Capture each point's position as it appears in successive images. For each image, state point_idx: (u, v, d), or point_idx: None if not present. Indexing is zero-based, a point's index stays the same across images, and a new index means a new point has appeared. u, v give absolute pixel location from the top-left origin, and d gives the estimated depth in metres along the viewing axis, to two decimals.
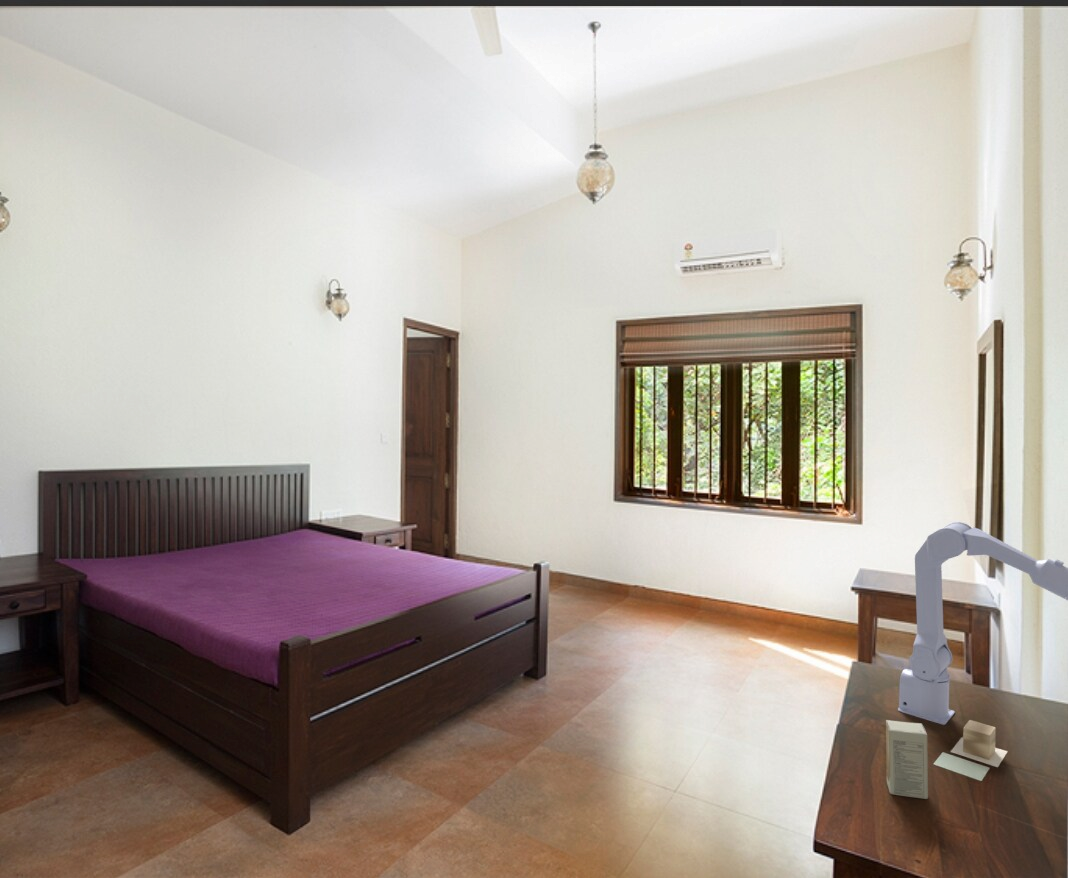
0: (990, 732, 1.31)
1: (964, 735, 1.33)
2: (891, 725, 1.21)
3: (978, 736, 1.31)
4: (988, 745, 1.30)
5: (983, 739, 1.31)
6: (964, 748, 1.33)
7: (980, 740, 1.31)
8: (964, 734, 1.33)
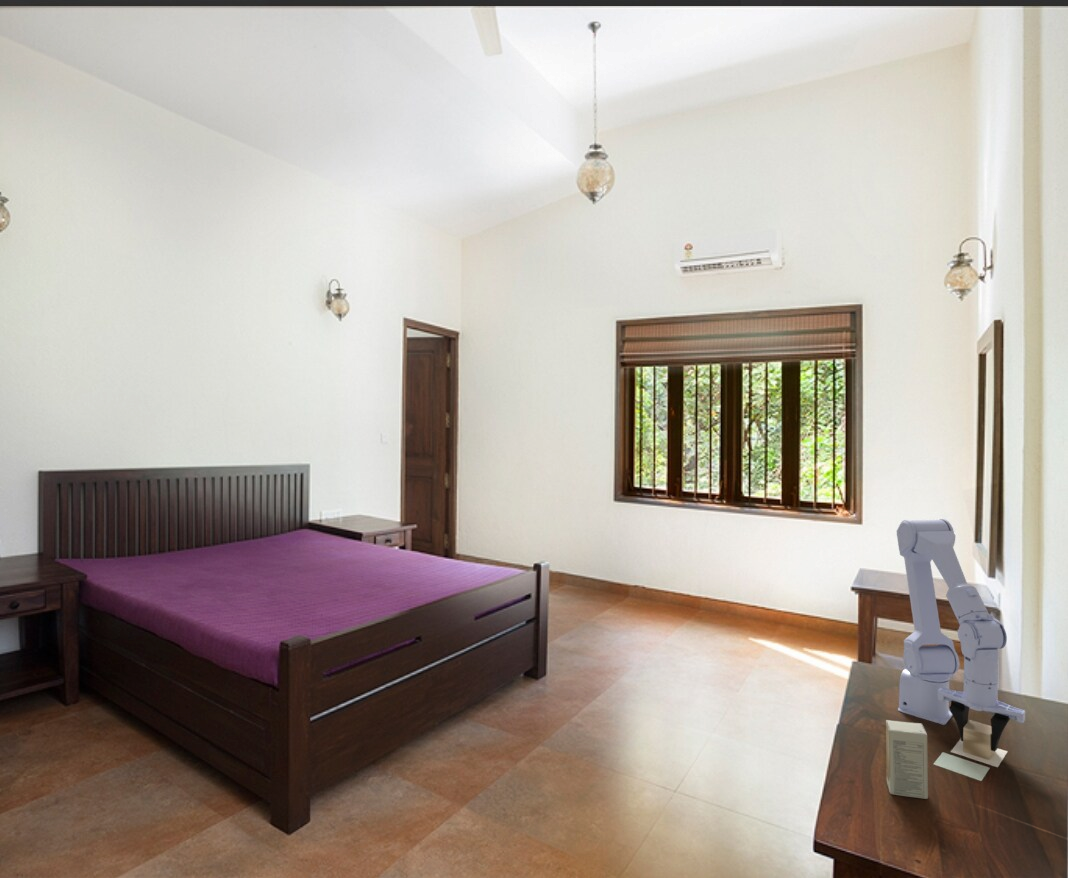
0: (990, 732, 1.31)
1: (964, 735, 1.33)
2: (891, 725, 1.21)
3: (978, 736, 1.31)
4: (988, 745, 1.30)
5: (983, 739, 1.31)
6: (964, 748, 1.33)
7: (980, 740, 1.31)
8: (964, 734, 1.33)
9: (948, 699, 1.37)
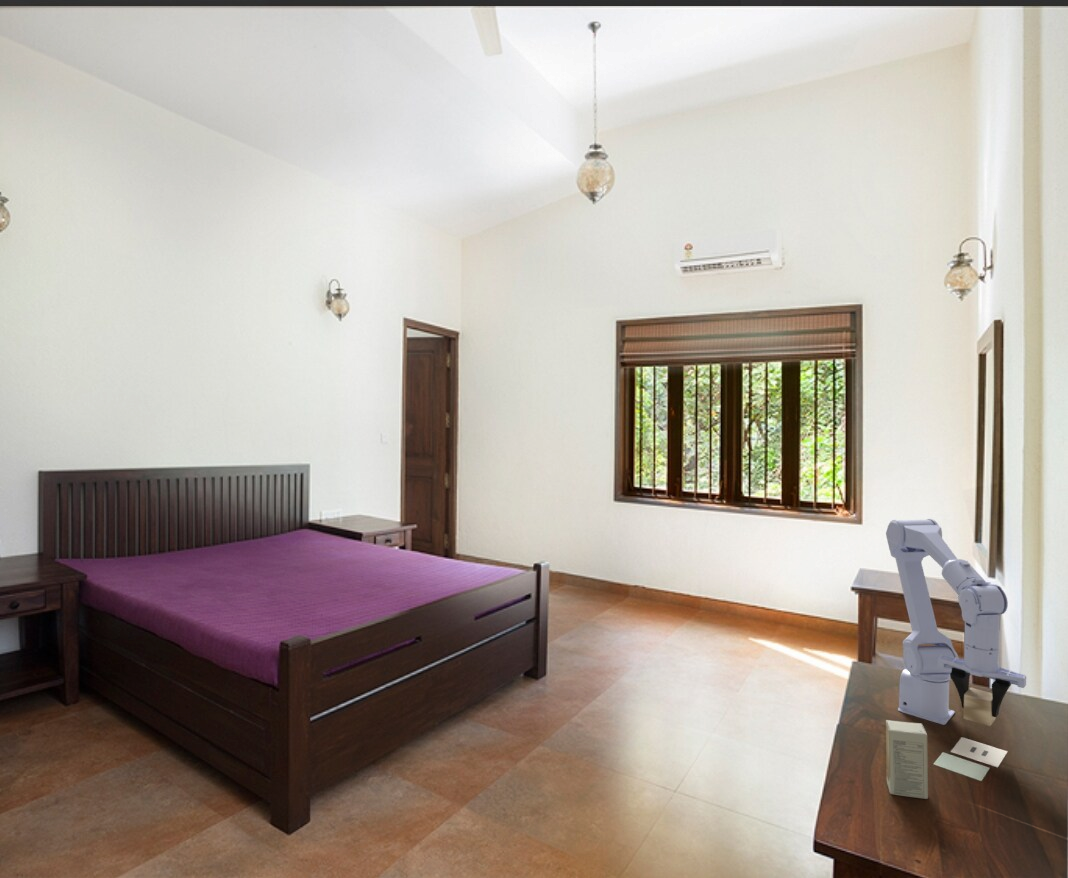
0: (991, 698, 1.31)
1: (965, 702, 1.33)
2: (891, 725, 1.21)
3: (979, 703, 1.31)
4: (989, 711, 1.30)
5: (984, 706, 1.30)
6: (965, 715, 1.33)
7: (981, 706, 1.31)
8: (965, 701, 1.33)
9: (949, 666, 1.36)
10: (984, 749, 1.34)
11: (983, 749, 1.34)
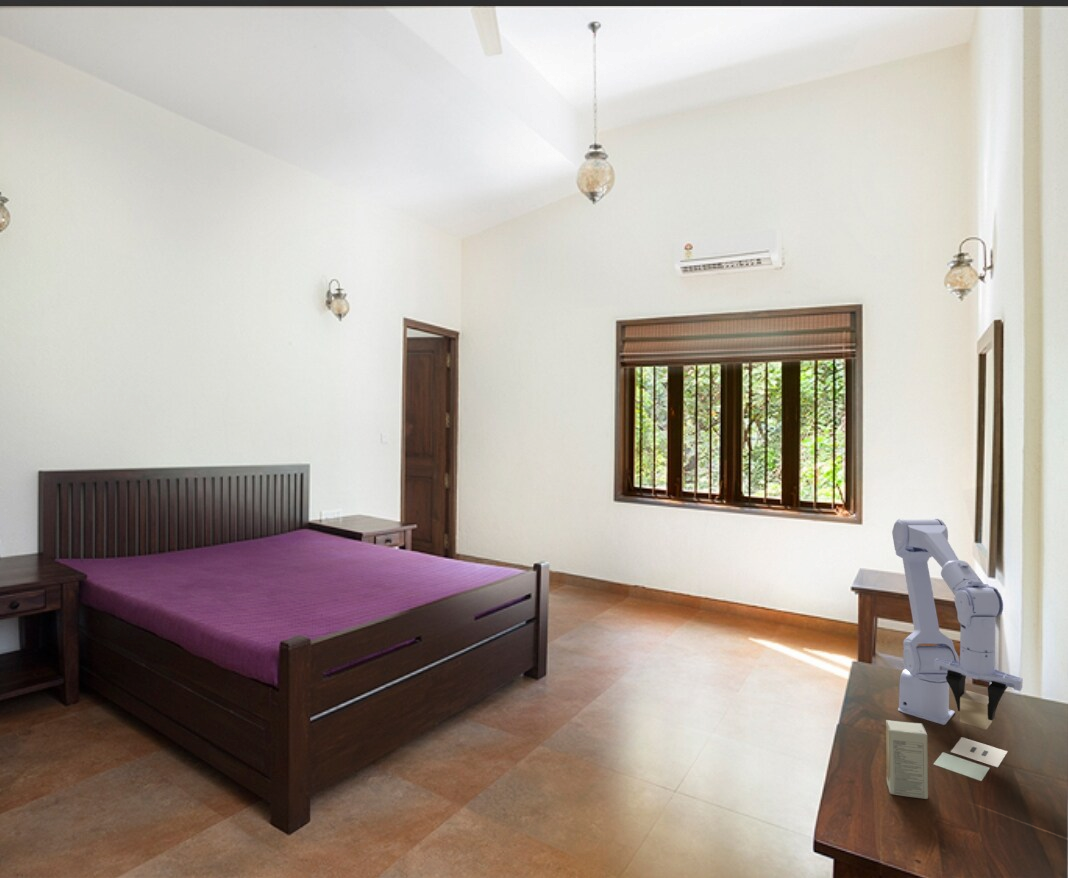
0: (987, 701, 1.29)
1: (961, 705, 1.31)
2: (891, 725, 1.21)
3: (975, 706, 1.30)
4: (985, 714, 1.28)
5: (980, 709, 1.29)
6: (961, 718, 1.32)
7: (977, 709, 1.29)
8: (961, 704, 1.31)
9: (944, 669, 1.35)
10: (984, 749, 1.34)
11: (983, 749, 1.34)
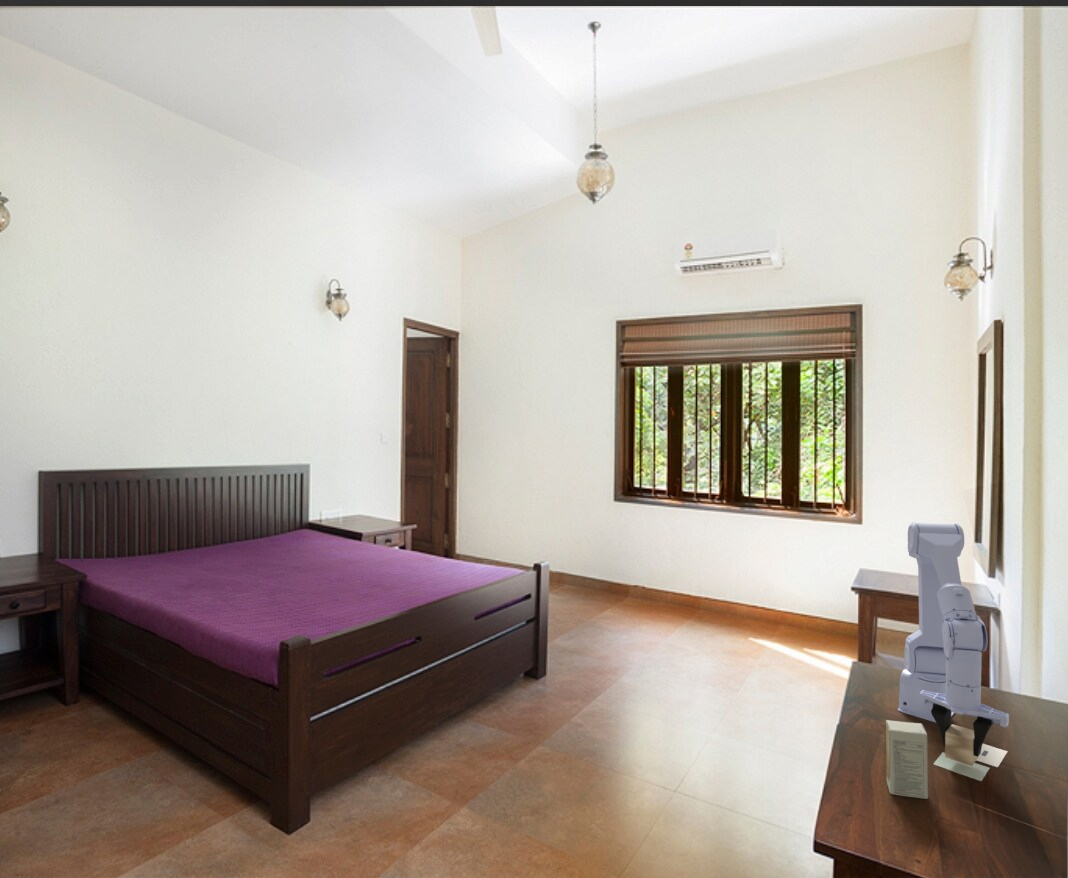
0: (973, 737, 1.26)
1: (946, 740, 1.28)
2: (891, 725, 1.21)
3: (961, 742, 1.26)
4: (971, 751, 1.25)
5: (966, 745, 1.26)
6: (946, 753, 1.28)
7: (963, 745, 1.26)
8: (946, 739, 1.28)
9: (930, 702, 1.31)
10: (984, 749, 1.34)
11: (983, 749, 1.34)
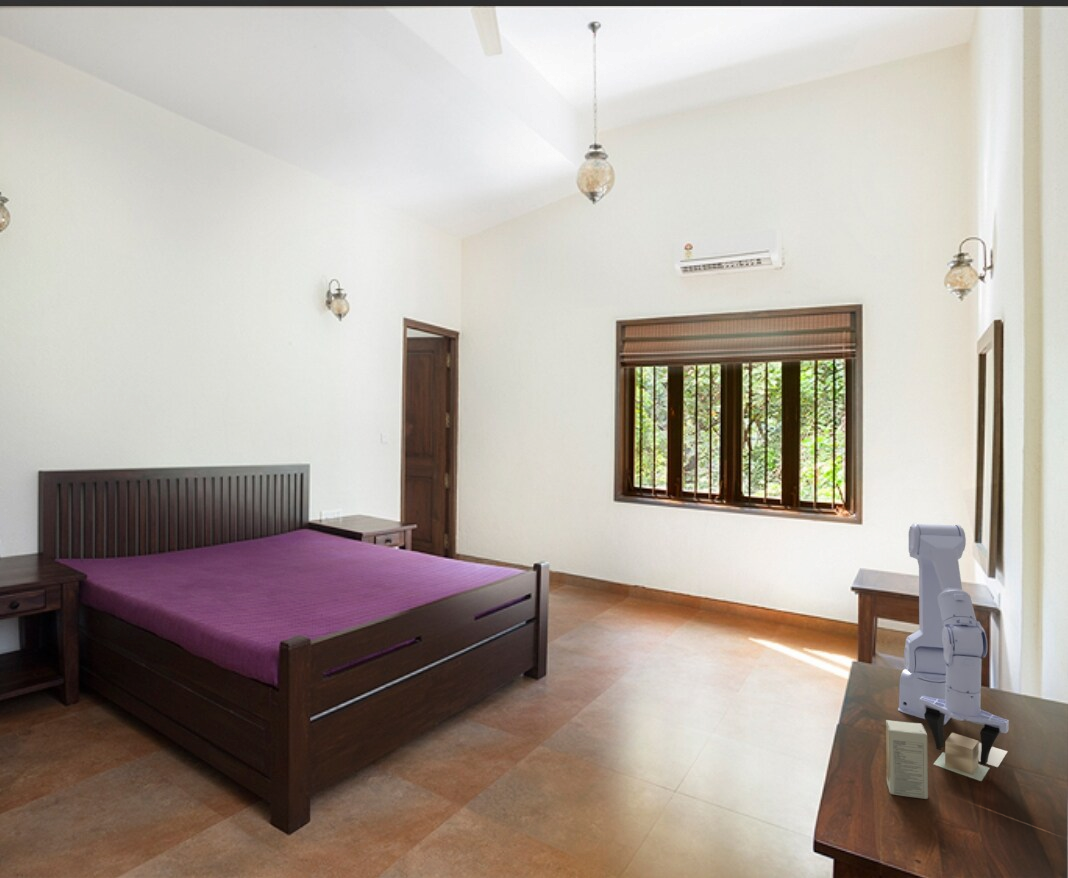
0: (973, 746, 1.26)
1: (946, 749, 1.28)
2: (891, 725, 1.21)
3: (961, 750, 1.26)
4: (971, 759, 1.25)
5: (966, 754, 1.26)
6: (946, 762, 1.28)
7: (963, 754, 1.26)
8: (946, 748, 1.28)
9: (930, 708, 1.32)
10: None
11: None
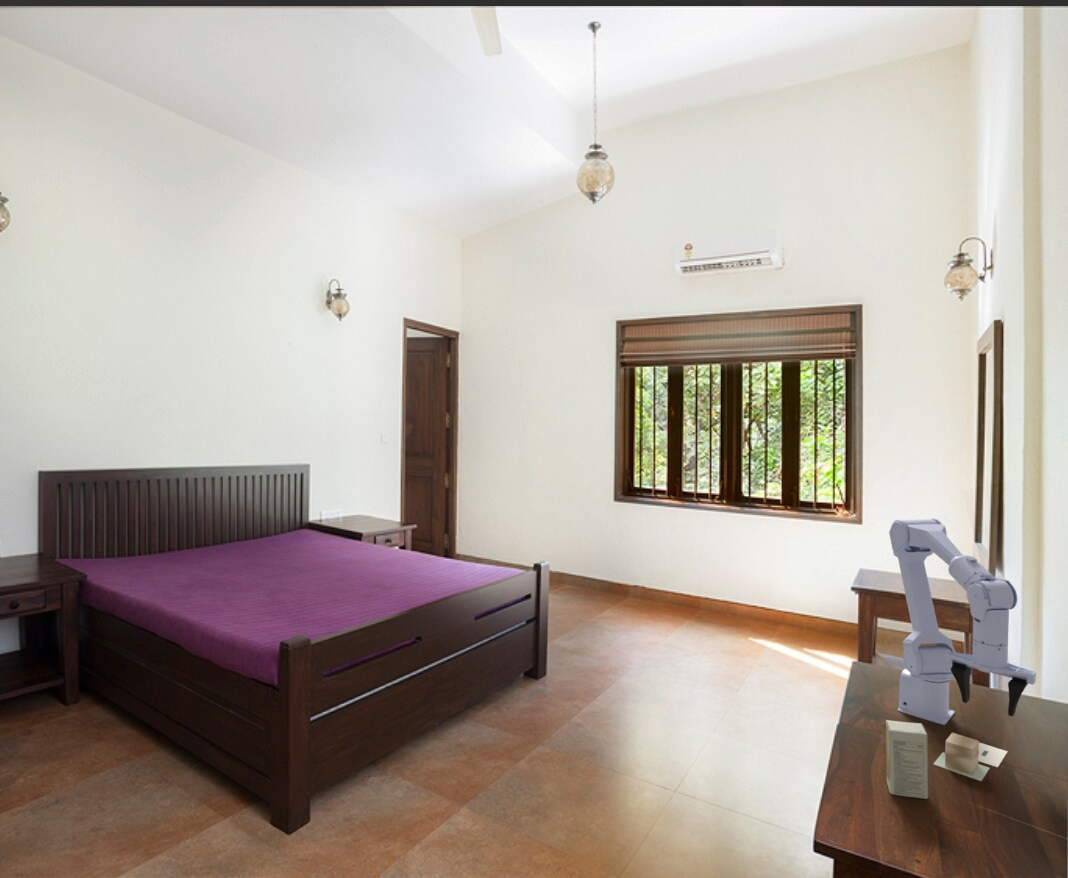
0: (973, 746, 1.26)
1: (946, 749, 1.28)
2: (891, 725, 1.21)
3: (961, 750, 1.26)
4: (971, 759, 1.25)
5: (966, 754, 1.26)
6: (946, 762, 1.28)
7: (963, 754, 1.26)
8: (946, 748, 1.28)
9: (957, 662, 1.34)
10: (984, 749, 1.34)
11: (983, 749, 1.34)
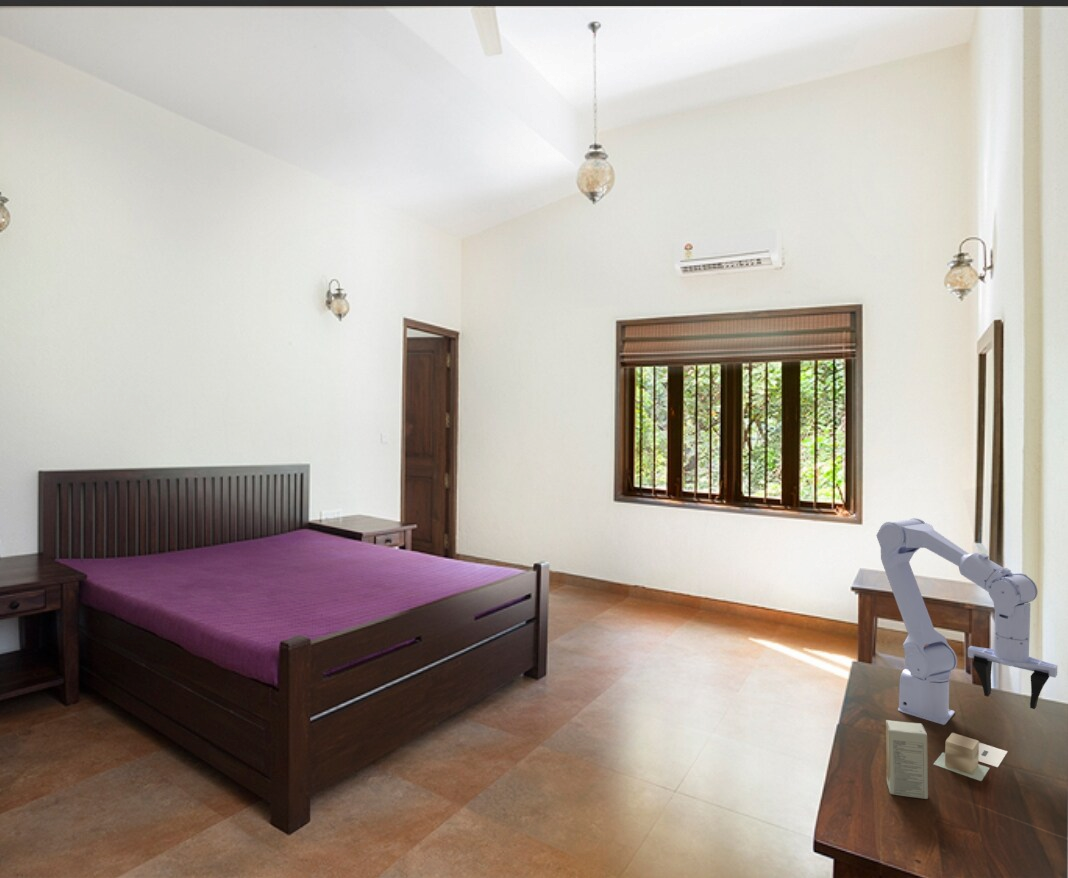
0: (973, 746, 1.26)
1: (946, 749, 1.28)
2: (891, 725, 1.21)
3: (961, 750, 1.26)
4: (971, 759, 1.25)
5: (966, 754, 1.26)
6: (946, 762, 1.28)
7: (963, 754, 1.26)
8: (946, 748, 1.28)
9: (978, 656, 1.37)
10: (984, 749, 1.34)
11: (983, 749, 1.34)
